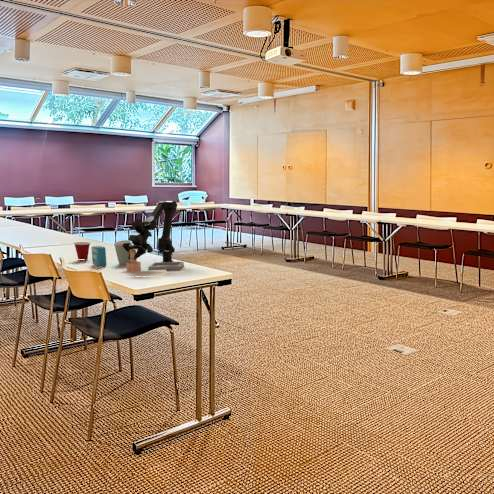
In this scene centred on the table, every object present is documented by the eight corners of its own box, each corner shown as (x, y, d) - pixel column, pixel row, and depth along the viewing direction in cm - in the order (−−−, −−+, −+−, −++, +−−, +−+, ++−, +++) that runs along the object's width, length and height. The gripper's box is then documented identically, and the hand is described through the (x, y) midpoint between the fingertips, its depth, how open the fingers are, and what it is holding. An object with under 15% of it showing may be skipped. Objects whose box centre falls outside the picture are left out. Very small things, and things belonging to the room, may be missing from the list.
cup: (129, 269, 321) (128, 261, 321) (142, 269, 321) (141, 261, 320) (125, 272, 313) (124, 263, 313) (139, 271, 313) (138, 263, 312)
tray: (154, 266, 330) (154, 262, 330) (183, 265, 330) (183, 261, 329) (148, 271, 315) (148, 266, 314) (179, 270, 314) (179, 265, 313)
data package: (92, 264, 346) (91, 246, 344) (99, 264, 348) (98, 245, 347) (99, 267, 336) (98, 247, 334) (106, 266, 339) (105, 247, 337)
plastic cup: (88, 261, 362) (87, 243, 361) (72, 261, 363) (71, 243, 361) (93, 258, 373) (92, 241, 371) (78, 259, 373) (76, 241, 372)
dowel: (131, 268, 319) (130, 249, 317) (137, 267, 319) (136, 249, 317) (130, 269, 315) (128, 250, 314) (136, 269, 315) (134, 250, 314)
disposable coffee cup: (128, 266, 334) (127, 242, 332) (112, 266, 336) (110, 242, 334) (135, 263, 344) (134, 240, 342) (119, 263, 347) (118, 240, 345)
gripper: (123, 229, 322) (111, 250, 313) (148, 229, 313) (137, 251, 305) (132, 240, 330) (121, 261, 321) (157, 241, 321) (147, 263, 313)
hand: (131, 259), depth 315 cm, fingers closed on dowel, 4 cm apart
